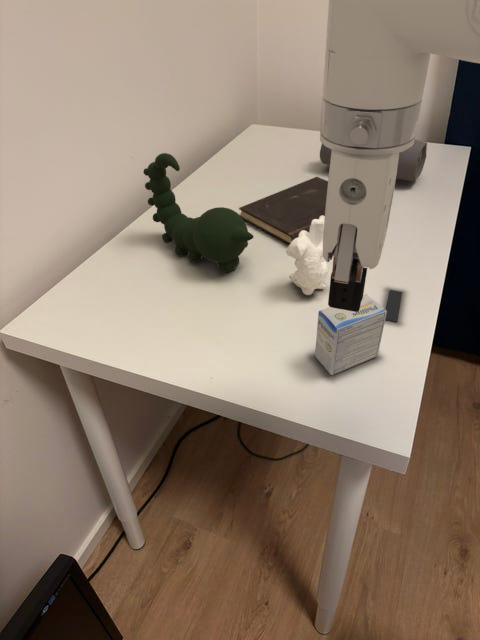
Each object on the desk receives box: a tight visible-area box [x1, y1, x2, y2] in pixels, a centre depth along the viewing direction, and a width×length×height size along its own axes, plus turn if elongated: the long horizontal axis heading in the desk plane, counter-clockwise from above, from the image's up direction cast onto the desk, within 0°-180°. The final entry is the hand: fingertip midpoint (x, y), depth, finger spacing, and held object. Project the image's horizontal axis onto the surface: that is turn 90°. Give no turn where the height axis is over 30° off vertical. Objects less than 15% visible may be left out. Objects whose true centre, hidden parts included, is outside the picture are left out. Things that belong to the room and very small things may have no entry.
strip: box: [385, 289, 403, 323], centre depth 77 cm, size 2×8×1 cm, turn 160°
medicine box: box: [314, 293, 387, 376], centre depth 66 cm, size 8×4×9 cm, turn 116°
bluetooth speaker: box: [319, 139, 428, 181], centre depth 113 cm, size 23×9×10 cm, turn 58°
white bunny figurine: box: [285, 215, 329, 296], centre depth 78 cm, size 8×7×12 cm
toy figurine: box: [143, 152, 255, 273], centre depth 85 cm, size 9×19×25 cm
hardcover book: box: [238, 176, 328, 246], centre depth 102 cm, size 16×23×2 cm
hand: (345, 302), depth 50 cm, fingers closed
